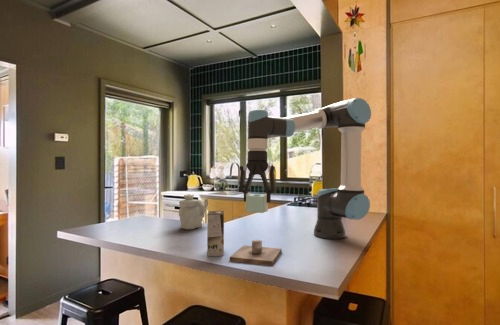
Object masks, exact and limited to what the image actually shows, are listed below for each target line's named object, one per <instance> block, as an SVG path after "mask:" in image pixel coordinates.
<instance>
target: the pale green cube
mask: <svg viewBox="0 0 500 325" xmlns="http://www.w3.org/2000/svg"><path fill="white" fill-rule="evenodd" d="M245 212H246V213H257V214H264V213H265V212H264V194H261V193H260V194H259V193H257V194H256V193H255V194H252V193H250V195H248V196H246V202H245Z"/></svg>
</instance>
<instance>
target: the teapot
mask: <svg viewBox="0 0 500 325" xmlns="http://www.w3.org/2000/svg"><path fill="white" fill-rule="evenodd" d="M194 197H195V194H190V193H188V194H184V195H183V198H184V199H182V200H179V202H178V204H179V209H178V216H179V221H180V228H181V229H184V230H194V229H196V228H197V229H199V228H201V227H203V219H204V218H205V214H206V212H207V208H208V204H209V200H208V199H209V198H207V197H205V198H204V201H203V200H201V199H194Z"/></svg>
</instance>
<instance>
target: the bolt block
mask: <svg viewBox="0 0 500 325" xmlns="http://www.w3.org/2000/svg"><path fill="white" fill-rule="evenodd" d="M262 242H263V241H262V240H261V239H253V240H251V245H242V246H241V247H240V248H239V249H238V250H236V251H235V252H234V253H233V254H232V255H230V256H229V262H236V263H243V264H245V263H246V264H255V265H256V264H257V265H263V266H264V265H265V266H272V267H273V266H274V264H276V262H277V260H278V259H279V257H280V256H281V254H282V253H283V251H282V248H279V247H277V248H276V247H264V246H263V243H262Z"/></svg>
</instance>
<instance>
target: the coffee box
mask: <svg viewBox="0 0 500 325" xmlns="http://www.w3.org/2000/svg"><path fill="white" fill-rule="evenodd" d="M224 213H225V211H224V210H209V211H208V212H207V214H206V217H207V218H206V219H207V222H206V223H207V226H206V227H207V232H206V234H207V238H206V239H207V240H206V242H207V244H206V245H207V246H206V247H207V249H206V250H207V252H206V253H207V257H222V256H224V247H225V246H224V245H225V244H224V243H225V214H224Z"/></svg>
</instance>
